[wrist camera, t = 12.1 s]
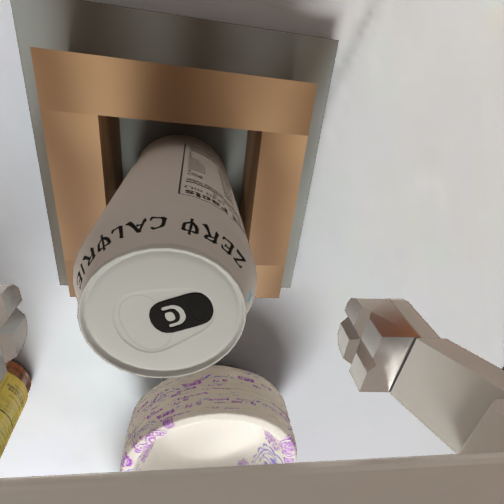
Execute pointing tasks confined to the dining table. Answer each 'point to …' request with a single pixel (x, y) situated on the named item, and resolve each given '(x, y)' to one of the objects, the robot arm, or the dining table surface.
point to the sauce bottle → (12, 399)
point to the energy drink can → (167, 265)
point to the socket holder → (172, 115)
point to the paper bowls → (209, 423)
